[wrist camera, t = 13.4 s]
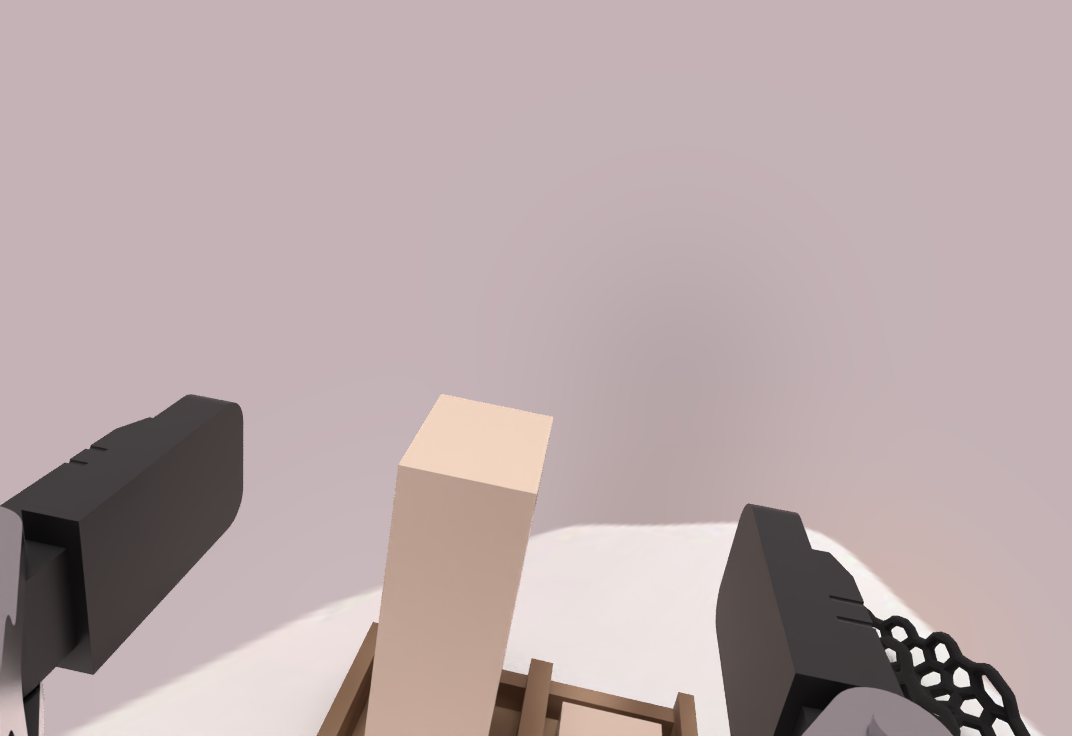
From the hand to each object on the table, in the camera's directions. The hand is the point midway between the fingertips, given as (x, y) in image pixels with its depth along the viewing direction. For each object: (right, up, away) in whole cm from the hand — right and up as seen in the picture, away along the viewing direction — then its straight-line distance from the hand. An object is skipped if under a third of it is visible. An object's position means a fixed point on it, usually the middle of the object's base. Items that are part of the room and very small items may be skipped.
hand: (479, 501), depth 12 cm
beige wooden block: (-4, -14, +20) cm, 24 cm away
